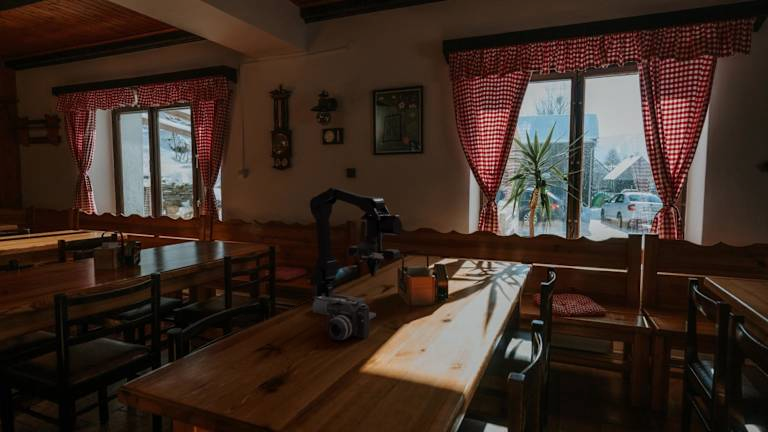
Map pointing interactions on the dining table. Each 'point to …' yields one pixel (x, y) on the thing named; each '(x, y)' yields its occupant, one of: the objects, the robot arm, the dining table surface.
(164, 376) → the dining table surface
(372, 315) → the clip rail
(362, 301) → the clip
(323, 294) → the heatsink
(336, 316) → the camera
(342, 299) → the light grey flat bar
